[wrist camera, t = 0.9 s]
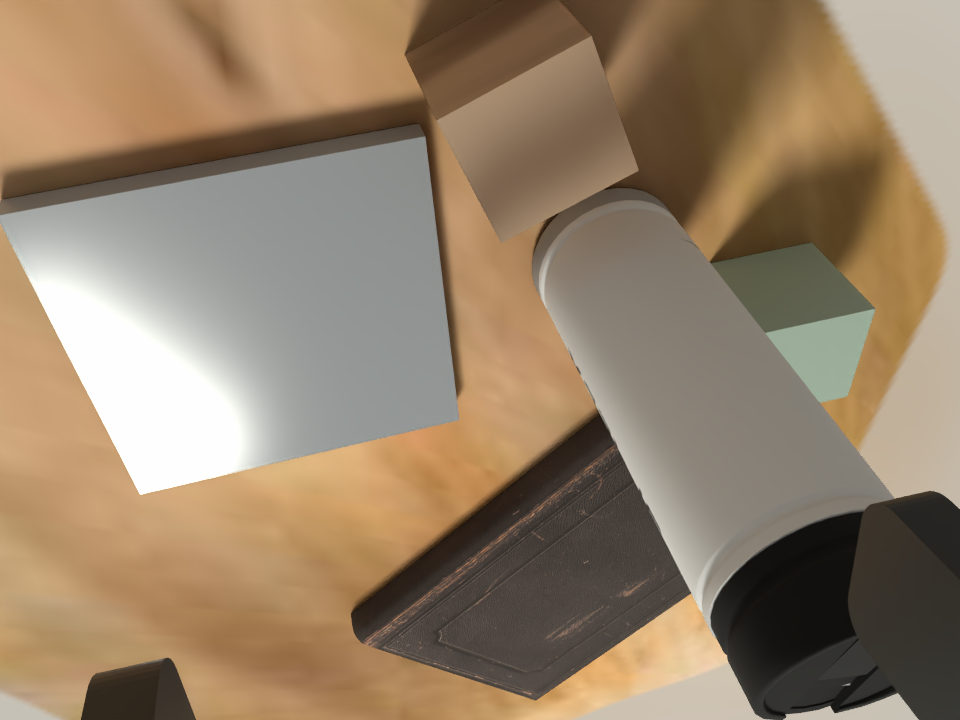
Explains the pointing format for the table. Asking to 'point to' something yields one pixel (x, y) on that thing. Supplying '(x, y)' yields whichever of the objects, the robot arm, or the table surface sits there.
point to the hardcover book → (534, 577)
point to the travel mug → (718, 448)
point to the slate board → (249, 303)
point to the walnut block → (524, 110)
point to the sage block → (804, 313)
